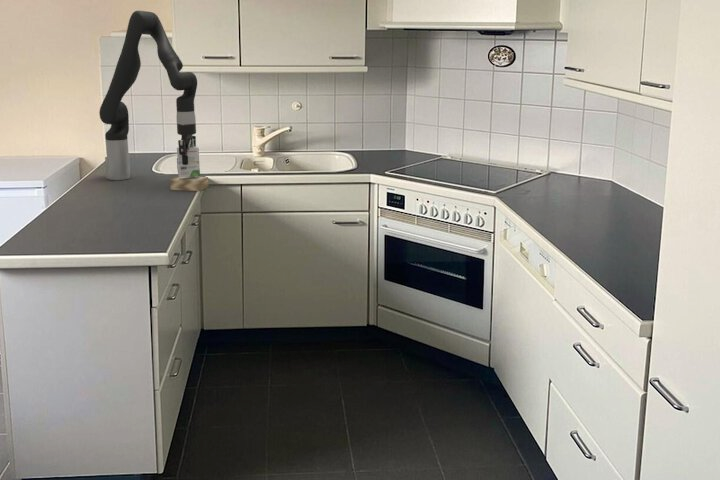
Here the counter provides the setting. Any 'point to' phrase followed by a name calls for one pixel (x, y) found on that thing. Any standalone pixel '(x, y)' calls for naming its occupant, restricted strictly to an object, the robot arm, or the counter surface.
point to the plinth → (189, 183)
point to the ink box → (189, 163)
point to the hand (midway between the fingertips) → (188, 163)
